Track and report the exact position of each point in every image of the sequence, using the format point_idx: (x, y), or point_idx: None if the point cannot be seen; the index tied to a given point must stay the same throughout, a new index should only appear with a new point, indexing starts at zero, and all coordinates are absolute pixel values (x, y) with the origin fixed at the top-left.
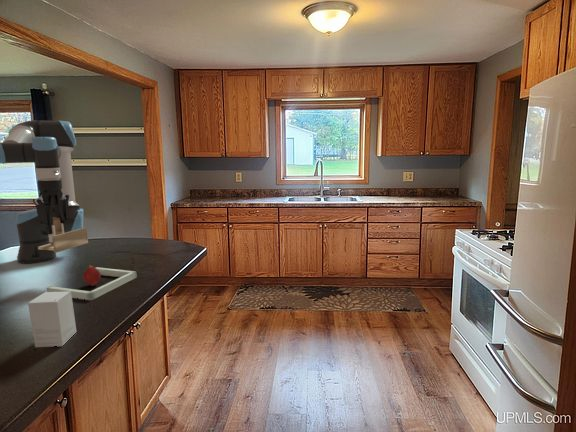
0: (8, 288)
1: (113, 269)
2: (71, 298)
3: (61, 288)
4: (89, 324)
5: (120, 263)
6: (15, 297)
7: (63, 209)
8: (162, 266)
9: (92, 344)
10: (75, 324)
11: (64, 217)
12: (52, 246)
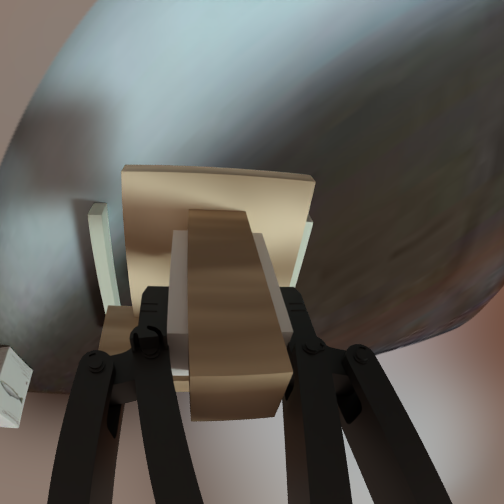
0: (98, 16)
1: (292, 285)
2: (19, 418)
3: (102, 262)
4: (55, 370)
5: (399, 219)
6: (43, 128)
7: (372, 458)
8: (357, 330)
9: (34, 391)
10: (29, 381)
11: (343, 387)
12: (153, 258)
